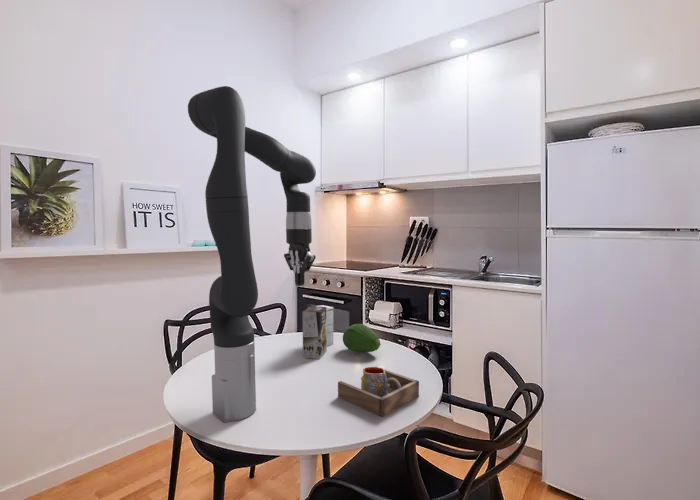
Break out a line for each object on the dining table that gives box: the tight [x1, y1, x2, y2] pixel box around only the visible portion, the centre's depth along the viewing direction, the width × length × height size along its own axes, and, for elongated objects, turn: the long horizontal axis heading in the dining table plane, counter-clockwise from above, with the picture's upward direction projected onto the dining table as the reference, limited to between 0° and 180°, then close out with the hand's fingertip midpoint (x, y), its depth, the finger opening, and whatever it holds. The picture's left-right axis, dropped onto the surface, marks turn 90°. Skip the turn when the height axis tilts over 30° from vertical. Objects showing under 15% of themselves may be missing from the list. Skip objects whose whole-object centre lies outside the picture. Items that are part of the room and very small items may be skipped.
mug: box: [360, 366, 401, 397], centre depth 99 cm, size 12×7×7 cm, turn 47°
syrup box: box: [315, 304, 334, 347], centre depth 143 cm, size 6×6×14 cm
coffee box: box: [302, 306, 328, 360], centre depth 132 cm, size 9×6×16 cm
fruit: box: [342, 323, 381, 354], centre depth 133 cm, size 15×10×10 cm, turn 41°
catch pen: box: [337, 366, 420, 417], centre depth 99 cm, size 15×15×4 cm
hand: (299, 285), depth 114 cm, fingers closed
